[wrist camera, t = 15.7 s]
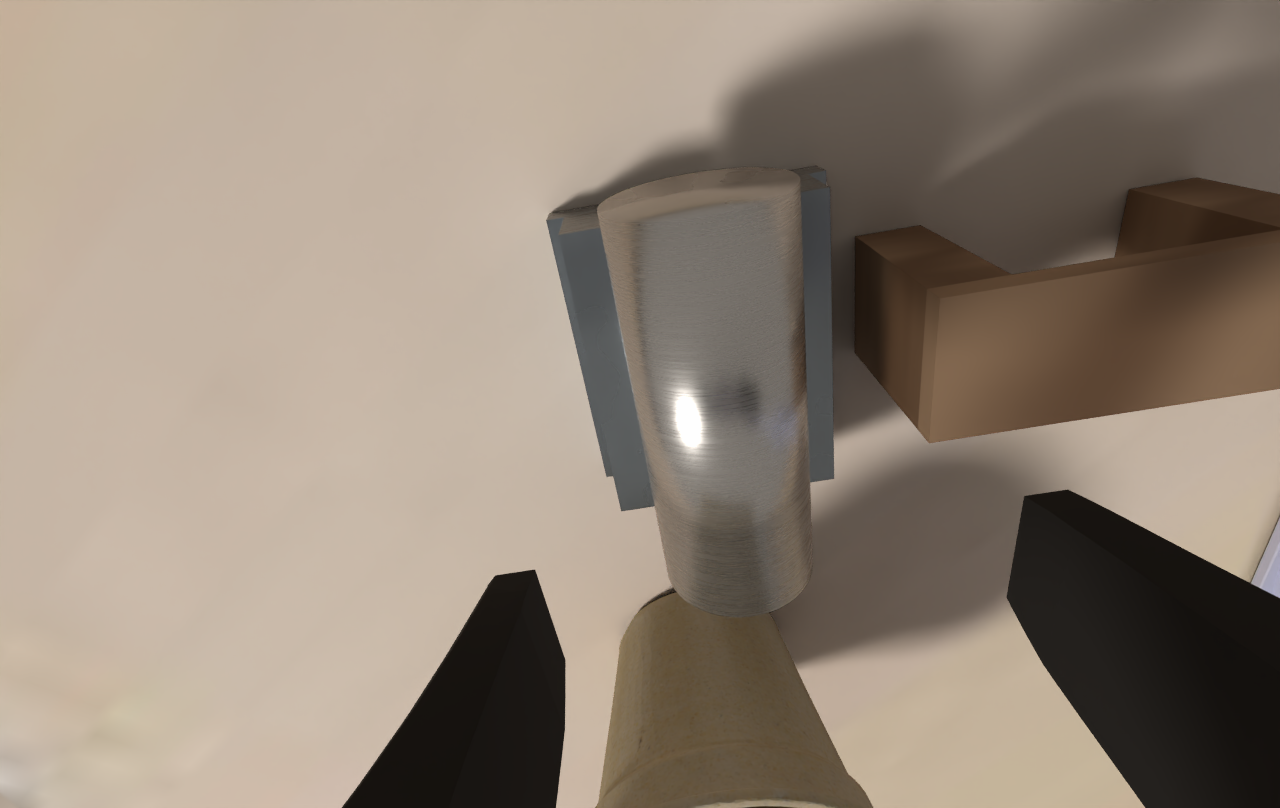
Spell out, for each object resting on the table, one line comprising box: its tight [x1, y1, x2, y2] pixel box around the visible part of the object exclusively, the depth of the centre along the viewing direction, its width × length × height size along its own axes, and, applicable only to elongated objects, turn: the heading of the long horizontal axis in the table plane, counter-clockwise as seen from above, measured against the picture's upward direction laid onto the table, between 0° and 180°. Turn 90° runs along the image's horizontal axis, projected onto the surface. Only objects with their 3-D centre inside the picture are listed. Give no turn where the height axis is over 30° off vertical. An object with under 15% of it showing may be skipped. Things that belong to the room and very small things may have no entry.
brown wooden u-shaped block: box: [855, 178, 1280, 443], centre depth 15 cm, size 9×4×5 cm, turn 99°
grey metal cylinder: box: [597, 167, 813, 618], centre depth 15 cm, size 10×4×4 cm, turn 9°
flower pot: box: [595, 592, 873, 808], centre depth 21 cm, size 9×9×9 cm
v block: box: [546, 166, 834, 511], centre depth 17 cm, size 7×8×3 cm
